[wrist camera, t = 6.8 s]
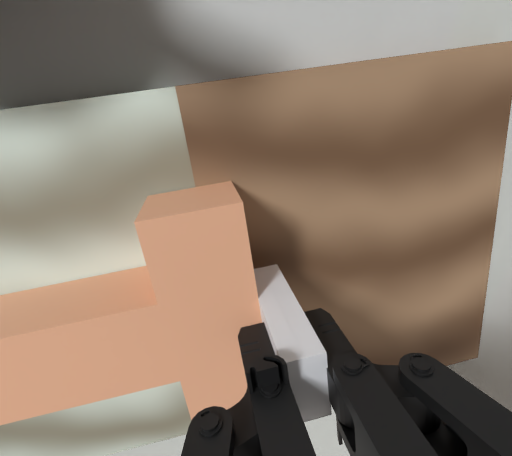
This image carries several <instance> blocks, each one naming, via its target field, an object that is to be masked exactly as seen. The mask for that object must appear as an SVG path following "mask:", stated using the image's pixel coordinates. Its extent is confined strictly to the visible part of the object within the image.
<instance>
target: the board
mask: <svg viewBox="0 0 512 456" xmlns="http://www.w3.org/2000/svg"><path fill="white" fill-rule="evenodd" d="M511 100H512V41H508V42H500V43H493V44H486V45H478V46H471V47H463V48H456V49H448V50H441V51H433V52H426V53H418V54H411V55H404V56H396V57H389V58H381V59H374V60H366V61H359V62H351V63H344V64H336V65H329V66H322V67H314V68H307V69H299V70H292V71H284V72H277V73H269V74H262V75H254V76H247V77H240V78H232V79H225V80H217V81H210V82H202V83H195V84H187V85H180V86H174V87H166V88H159V89H151V90H144V91H136V92H129V93H122V94H114V95H107V96H99V97H92V98H84V99H77V100H69V101H62V102H54V103H47V104H40V105H32V106H25V107H17V108H10V109H2V110H0V295H4V294H9V293H14V292H19V291H24V290H29V289H34V288H38V287H43V286H48V285H53V284H58V283H63V282H68V281H73V280H78V279H83V278H88V277H93V276H98V275H103V274H107V273H112V272H117V271H122V270H127V269H132V268H137V267H142V266H146V262H145V259H144V255H143V252H142V248H141V245H140V242H139V238H138V235H137V231H136V228H135V224H134V222H135V220H136V218H137V216H138V214H139V212H140V210H141V208H142V206H143V204H144V202H145V200H146V198H147V196H149V195H155V194H160V193H166V192H171V191H177V190H183V189H188V188H194V187H199V186H205V185H211V184H216V183H222V182H227V181H232V183H233V185H234V187H235V189H236V190H237V192H238V194H239V196H240V198H241V200H242V201H243V206H244V212H245V218H246V224H247V231H248V237H249V243H250V249H251V255H252V262H253V268H254V269H256V268H261V267H266V266H270V265H275V264H277V265H278V267H279V269H280V270H281V272H282V274H283V276H284V278H285V279H286V281H287V283H288V285H289V286H290V288H291V290H292V292H293V294H294V295H295V297H296V299H297V301H298V303H299V304H300V306H301V308H302V310H303V311H304V312H305V311H310V310H314V309H318V308H322V309H323V310H325V311H327V312H328V313H330V314H331V316H332V317H333V319H334V320H335V322H336V323H337V324H338V326H339V327H340V330H342V332H343V333H344V335H345V336H346V338H347V339H348V341H349V342H350V343H351V345H352V346H353V348H354V349H355V351H356V352H357V353H358V354H361V355H363V356H365V357H367V358H368V359H369V360H370V361H371V362H372V363H374V364H379V365H399V361H400V358H402V357H403V356H404V355H406V354H409V353H422V354H426V355H429V356H431V357H433V358H435V359H437V360H438V361H439V362H441V363H442V364H444V365H445V366H448V365H451V364H455V363H459V362H462V361H466V360H470V359H474V358H477V357H478V351H479V344H480V336H481V329H482V321H483V313H484V306H485V298H486V290H487V283H488V275H489V268H490V260H491V252H492V245H493V237H494V230H495V222H496V214H497V207H498V199H499V192H500V184H501V176H502V169H503V161H504V154H505V146H506V138H507V131H508V123H509V116H510V108H511ZM190 423H191V417H190V414H189V410H188V407H187V404H186V400H185V397H184V393H183V390H182V386H181V383H180V381H179V382H175V383H171V384H166V385H162V386H158V387H154V388H150V389H146V390H142V391H138V392H134V393H130V394H126V395H122V396H118V397H114V398H110V399H106V400H101V401H97V402H93V403H89V404H85V405H81V406H77V407H73V408H69V409H65V410H61V411H57V412H53V413H49V414H45V415H41V416H36V417H32V418H28V419H24V420H20V421H16V422H12V423H8V424H4V425H0V456H107V455H110V454H114V453H118V452H122V451H125V450H129V449H133V448H136V447H140V446H144V445H148V444H151V443H155V442H159V441H163V440H166V439H170V438H174V437H178V436H181V435H185V434H187V431H188V427H189V425H190Z"/></svg>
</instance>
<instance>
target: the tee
mask: <svg viewBox="0 0 512 456" xmlns="http://www.w3.org/2000/svg"><path fill="white" fill-rule="evenodd" d="M134 224H135V228H136V231H137V235H138V238H139V242H140V245H141V248H142V252H143V255H144V259H145V262H146V266H142V267H137V268H132V269H127V270H122V271H117V272H112V273H107V274H103V275H98V276H93V277H88V278H83V279H78V280H73V281H68V282H63V283H58V284H53V285H48V286H43V287H38V288H34V289H29V290H24V291H19V292H14V293H9V294H4V295H0V425H4V424H8V423H12V422H16V421H20V420H24V419H28V418H32V417H36V416H41V415H45V414H49V413H53V412H57V411H61V410H65V409H69V408H73V407H77V406H81V405H85V404H89V403H93V402H97V401H101V400H106V399H110V398H114V397H118V396H122V395H126V394H130V393H134V392H138V391H142V390H146V389H150V388H154V387H158V386H162V385H166V384H171V383H175V382H179V381H180V383H181V386H182V390H183V393H184V397H185V400H186V404H187V407H188V410H189V414H190V417H191V420H192V419H193V417H194V416H195V415H196V414H197V413H198V412H200V411H201V410H203V409H205V408H208V407H212V406H218V407H223V408H225V409H226V410H227V409H229V408H231V407H232V406H234V405H235V404H237V403H238V402H239V401H240V400H241V399H242V398H243V397H244V395H245V393H246V390H247V381H246V376H245V371H244V366H243V361H242V356H241V351H240V346H239V341H238V334H239V331H240V329H241V327H245V326H250V325H254V324H258V323H262V319H261V313H260V306H259V300H258V293H257V286H256V280H255V274H254V268H253V262H252V255H251V249H250V243H249V237H248V231H247V224H246V218H245V212H244V206H243V201H242V200H241V198H240V196H239V194H238V192H237V190H236V189H235V187H234V185H233V183H232V181H227V182H222V183H216V184H211V185H205V186H199V187H194V188H188V189H183V190H177V191H171V192H166V193H160V194H155V195H149V196H147V198H146V200H145V202H144V204H143V206H142V208H141V210H140V212H139V214H138V216H137V218H136V220H135V222H134Z"/></svg>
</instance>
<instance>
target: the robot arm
mask: <svg viewBox="0 0 512 456" xmlns="http://www.w3.org/2000/svg"><path fill="white" fill-rule="evenodd" d="M254 274H255V280H256V286H257V293H258V300H259V306H260V313H261V319H262V323H258V324H254V325H250V326H245V327H241V329H240V331H239V334H238V341H239V346H240V351H241V356H242V361H243V366H244V371H245V376H246V381H247V390H246V393H245V395H244V397H243V398H242V399H241V400H240V401H239V402H238V403H237V404H235V405H234V406H232V407H231V408H229V409H227V410H226V409H225V408H223V407H218V406H212V407H208V408H205V409H203V410H201V411H200V412H198V413H197V414H196V415H195V416H194V417H193V419H192V420H191V423H190V425H189V427H188V431H187V435H186V439H185V442H184V446H183V450H182V454H181V456H316V454H315V452H314V449H313V446H312V443H311V441H310V438H309V435H308V432H307V430H306V427H305V424H304V422H306V421H310V420H314V419H317V418H321V417H324V416H328V415H331V414H332V413H331V405H332V407H333V409H334V411H335V414H336V420H337V434H338V441H339V445H341V444H342V438H343V440H344V443H345V445H346V447H347V449H348V451H349V453H350V456H512V412H511V411H509V410H508V409H506V408H505V407H503V406H502V405H501V404H499V403H498V402H496V401H495V400H493V399H492V398H491V397H489V396H488V395H486V394H485V393H484V392H482V391H481V390H479V389H478V388H476V387H475V386H474V385H472V384H471V383H469V382H468V381H466V380H465V379H464V378H462V377H461V376H459V375H458V374H456V373H455V372H454V371H452V370H451V369H449V368H448V367H447V366H445V365H444V364H442V363H441V362H439V361H438V360H437V359H435V358H433V357H431V356H429V355H426V354H422V353H409V354H406V355H404V356H403V357H402V358H400V361H399V365H379V364H374V363H372V362H371V361H370V360H369V359H368V358H367V357H365V356H363V355H361V354H358V353H357V352H356V351H355V349H354V348H353V346H352V345H351V343H350V342H349V341H348V339H347V338H346V336H345V335H344V333H343V332H342V330H340V327H339V326H338V324H337V323H336V322H335V320H334V319H333V317H332V316H331V314H330V313H328V312H327V311H325V310H323V309H322V308H318V309H314V310H310V311H305V312H304V311H303V310H302V308H301V306H300V304H299V303H298V301H297V299H296V297H295V295H294V294H293V292H292V290H291V288H290V286H289V285H288V283H287V281H286V279H285V278H284V276H283V274H282V272H281V270H280V269H279V267H278V265H277V264H275V265H270V266H266V267H261V268H256V269H254Z"/></svg>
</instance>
